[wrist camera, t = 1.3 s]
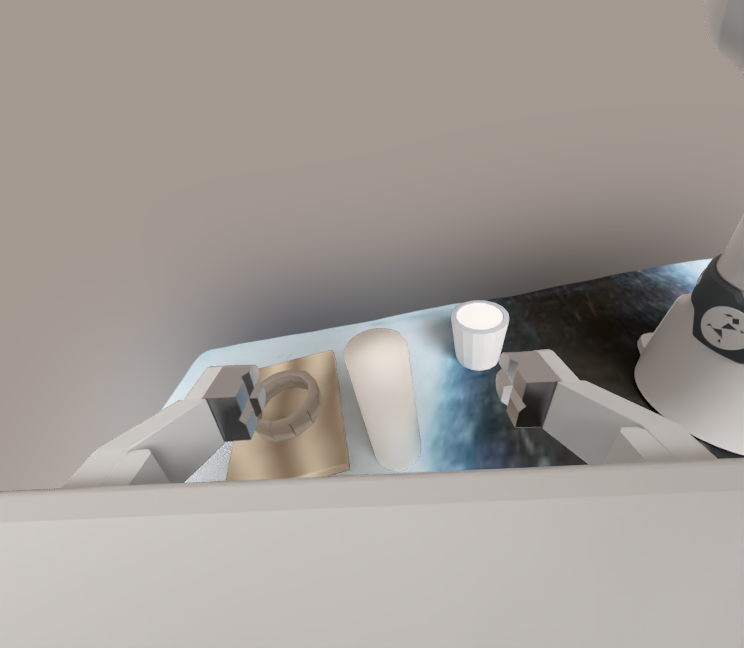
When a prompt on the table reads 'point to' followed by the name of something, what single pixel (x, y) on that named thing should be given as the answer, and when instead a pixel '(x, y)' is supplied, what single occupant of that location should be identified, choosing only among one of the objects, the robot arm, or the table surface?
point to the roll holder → (295, 424)
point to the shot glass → (479, 333)
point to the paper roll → (385, 395)
